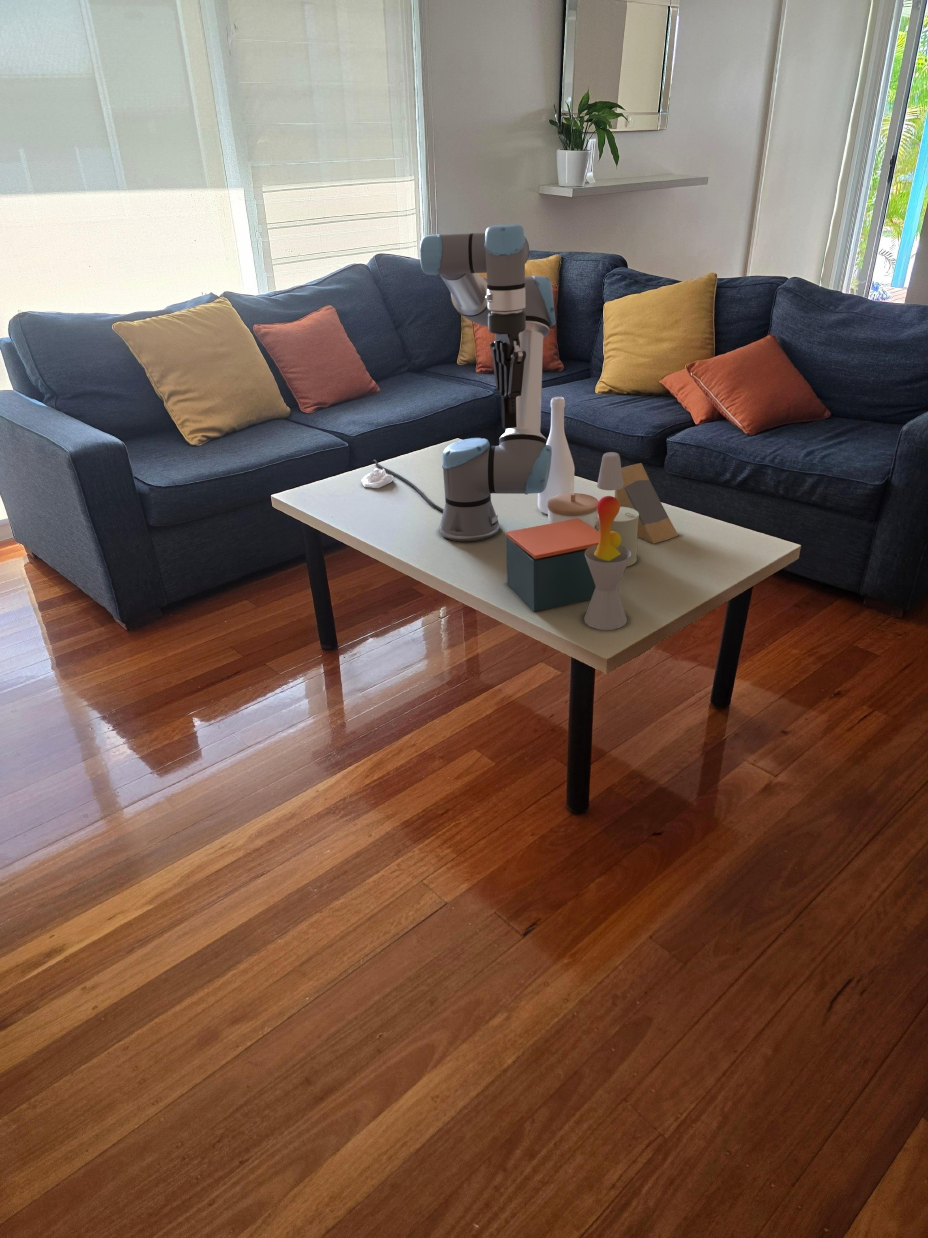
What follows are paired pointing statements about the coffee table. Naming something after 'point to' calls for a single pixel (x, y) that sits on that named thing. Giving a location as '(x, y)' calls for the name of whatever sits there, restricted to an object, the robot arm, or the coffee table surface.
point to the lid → (555, 538)
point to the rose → (377, 479)
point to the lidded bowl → (573, 508)
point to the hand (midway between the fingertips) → (509, 426)
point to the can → (627, 530)
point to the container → (548, 577)
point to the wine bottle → (558, 458)
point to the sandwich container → (644, 505)
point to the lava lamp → (607, 553)
